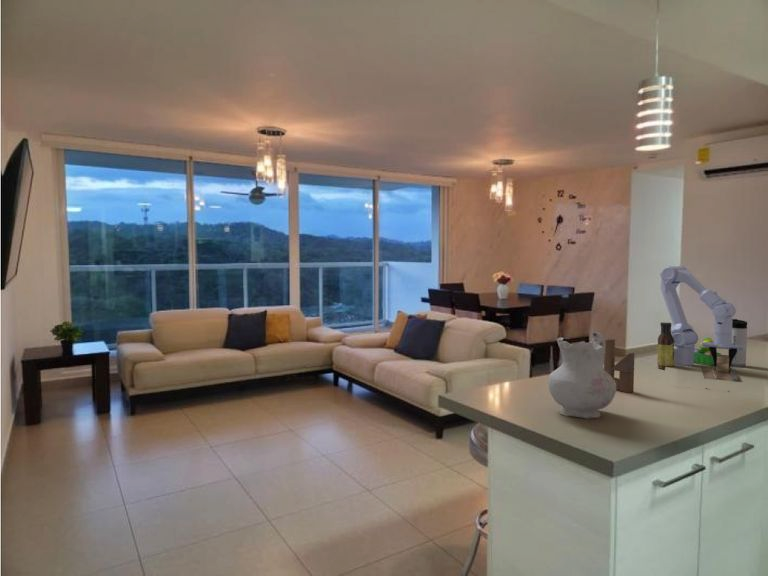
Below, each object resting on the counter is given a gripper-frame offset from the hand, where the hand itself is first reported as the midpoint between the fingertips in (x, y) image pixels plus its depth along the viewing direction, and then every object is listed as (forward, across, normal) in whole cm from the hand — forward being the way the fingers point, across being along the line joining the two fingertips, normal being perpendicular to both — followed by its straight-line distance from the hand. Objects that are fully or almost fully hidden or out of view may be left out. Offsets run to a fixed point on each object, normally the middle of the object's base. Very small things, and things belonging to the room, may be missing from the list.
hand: (722, 366), depth 202 cm
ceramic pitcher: (+3, -42, -78) cm, 89 cm away
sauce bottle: (+3, -20, +1) cm, 20 cm away
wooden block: (+3, -35, -44) cm, 56 cm away
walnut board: (+3, -1, -7) cm, 8 cm away
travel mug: (+3, +7, +22) cm, 23 cm away
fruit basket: (+3, -5, +21) cm, 22 cm away
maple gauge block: (+2, 0, 0) cm, 2 cm away
